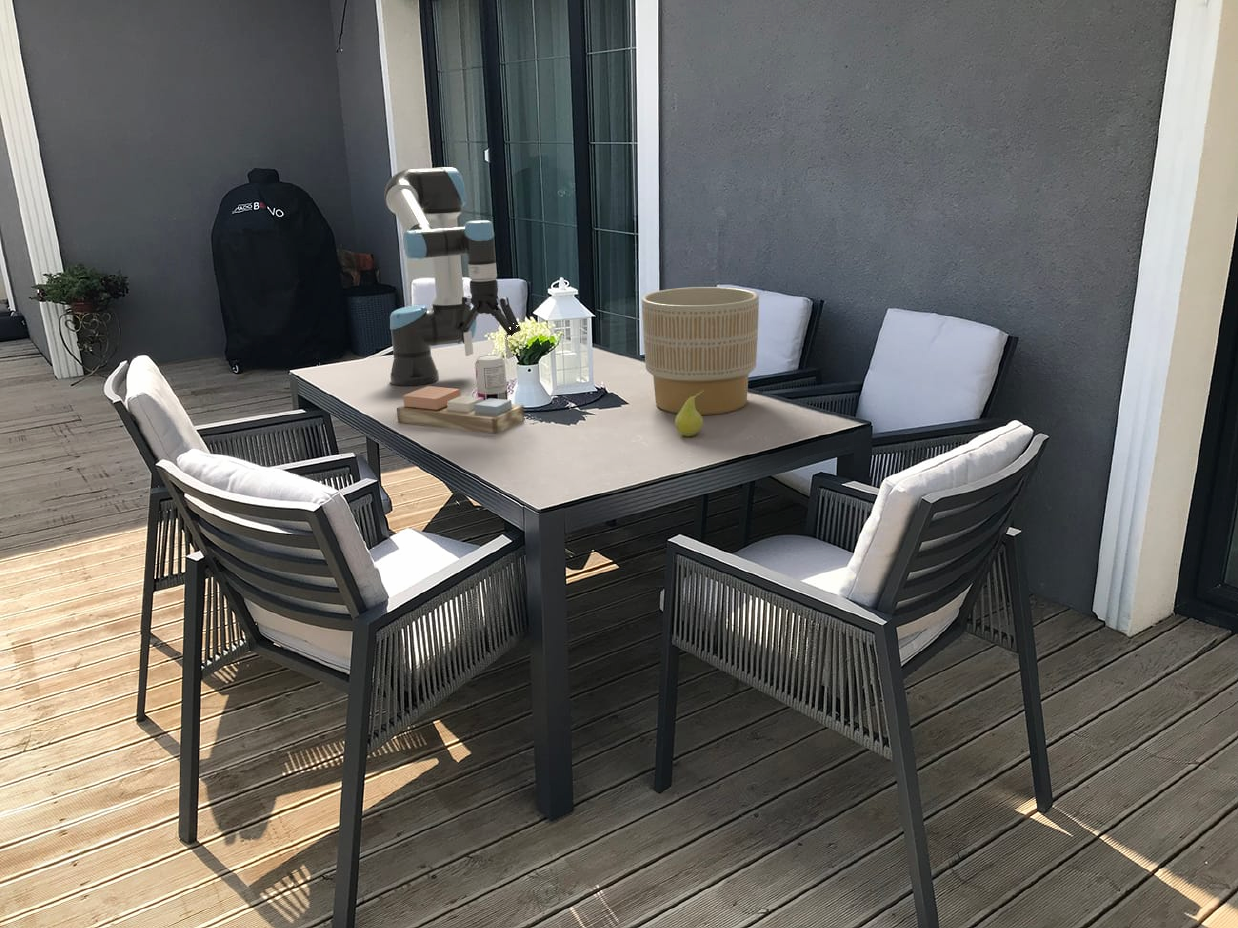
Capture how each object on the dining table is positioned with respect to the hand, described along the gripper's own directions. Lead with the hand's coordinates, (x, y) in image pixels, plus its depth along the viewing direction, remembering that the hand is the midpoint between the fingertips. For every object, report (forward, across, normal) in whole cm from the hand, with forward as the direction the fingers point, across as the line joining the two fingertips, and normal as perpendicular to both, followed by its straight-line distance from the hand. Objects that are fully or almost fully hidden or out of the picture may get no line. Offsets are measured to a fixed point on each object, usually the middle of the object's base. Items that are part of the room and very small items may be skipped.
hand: (489, 356), depth 277 cm
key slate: (+14, +9, -13) cm, 21 cm away
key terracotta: (+13, -11, -13) cm, 21 cm away
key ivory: (+14, 0, -13) cm, 19 cm away
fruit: (+16, +62, -4) cm, 64 cm away
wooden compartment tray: (+15, -2, -13) cm, 20 cm away
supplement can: (+16, 0, 0) cm, 16 cm away
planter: (+16, +53, +25) cm, 61 cm away
